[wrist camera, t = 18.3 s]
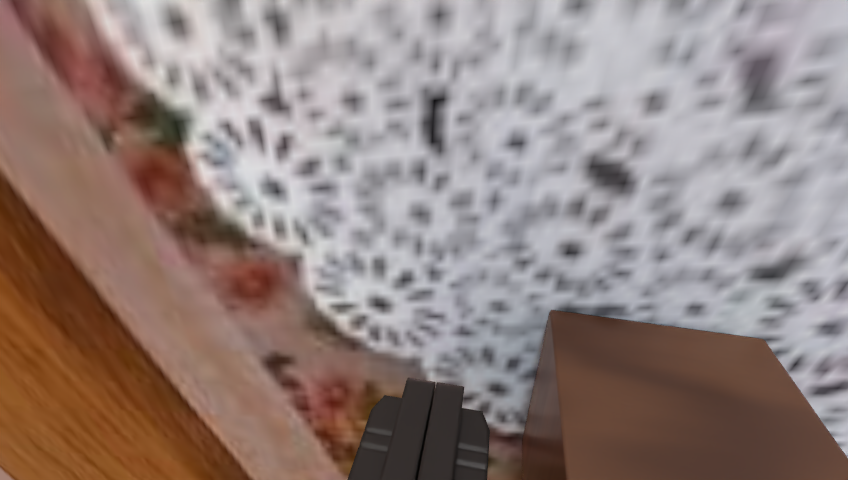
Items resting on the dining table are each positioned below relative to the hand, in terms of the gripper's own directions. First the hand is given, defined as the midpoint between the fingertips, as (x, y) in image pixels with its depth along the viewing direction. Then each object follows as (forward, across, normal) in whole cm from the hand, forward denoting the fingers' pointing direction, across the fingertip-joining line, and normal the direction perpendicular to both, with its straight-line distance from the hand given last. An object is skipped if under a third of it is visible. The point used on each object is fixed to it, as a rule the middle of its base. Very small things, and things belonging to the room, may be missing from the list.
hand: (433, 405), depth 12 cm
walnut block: (+1, -5, 0) cm, 5 cm away
